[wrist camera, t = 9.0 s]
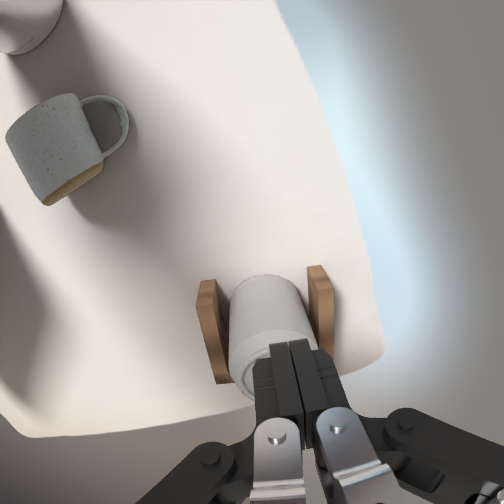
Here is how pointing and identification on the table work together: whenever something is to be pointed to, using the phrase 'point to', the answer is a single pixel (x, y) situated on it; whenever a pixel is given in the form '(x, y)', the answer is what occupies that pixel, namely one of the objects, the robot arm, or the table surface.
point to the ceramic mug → (60, 145)
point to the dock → (215, 329)
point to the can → (263, 324)
